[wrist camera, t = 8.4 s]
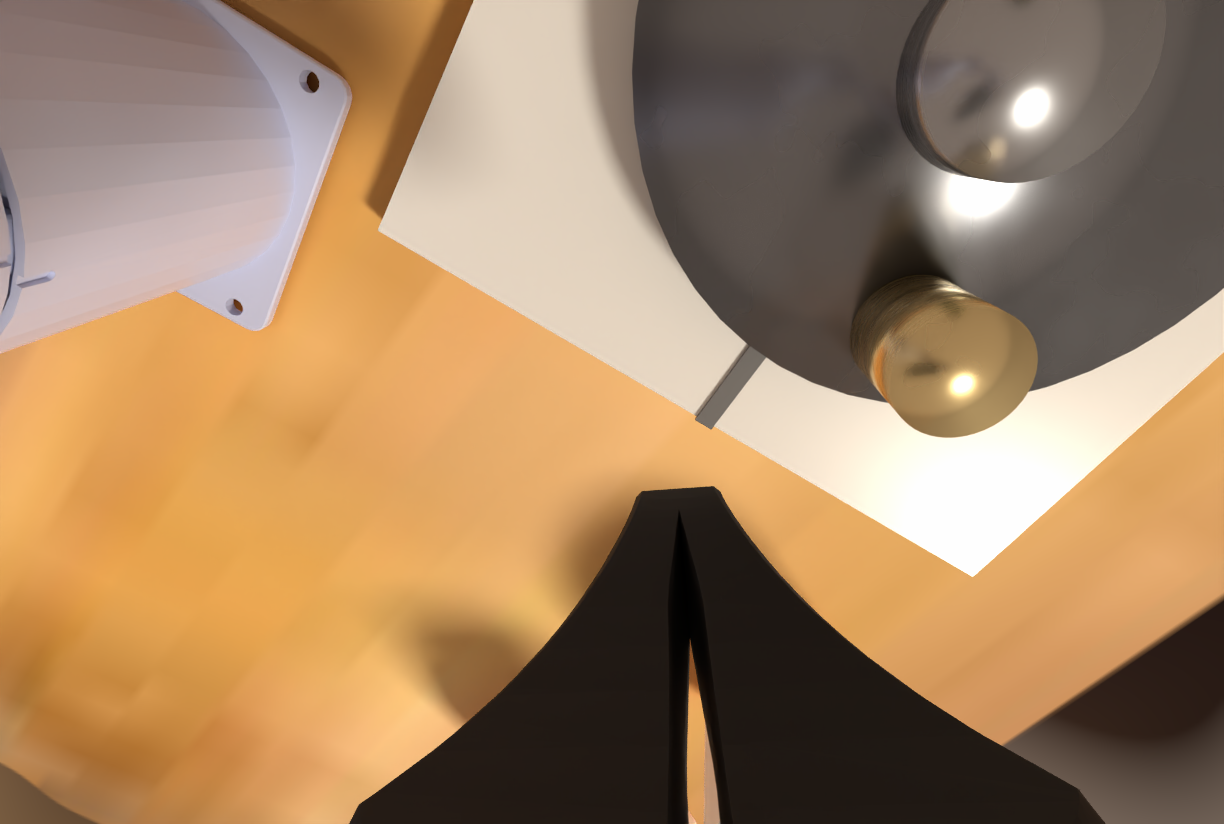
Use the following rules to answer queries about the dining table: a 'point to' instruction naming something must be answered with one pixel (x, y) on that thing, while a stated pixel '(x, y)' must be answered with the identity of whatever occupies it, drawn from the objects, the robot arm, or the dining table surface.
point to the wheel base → (680, 318)
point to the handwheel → (938, 185)
